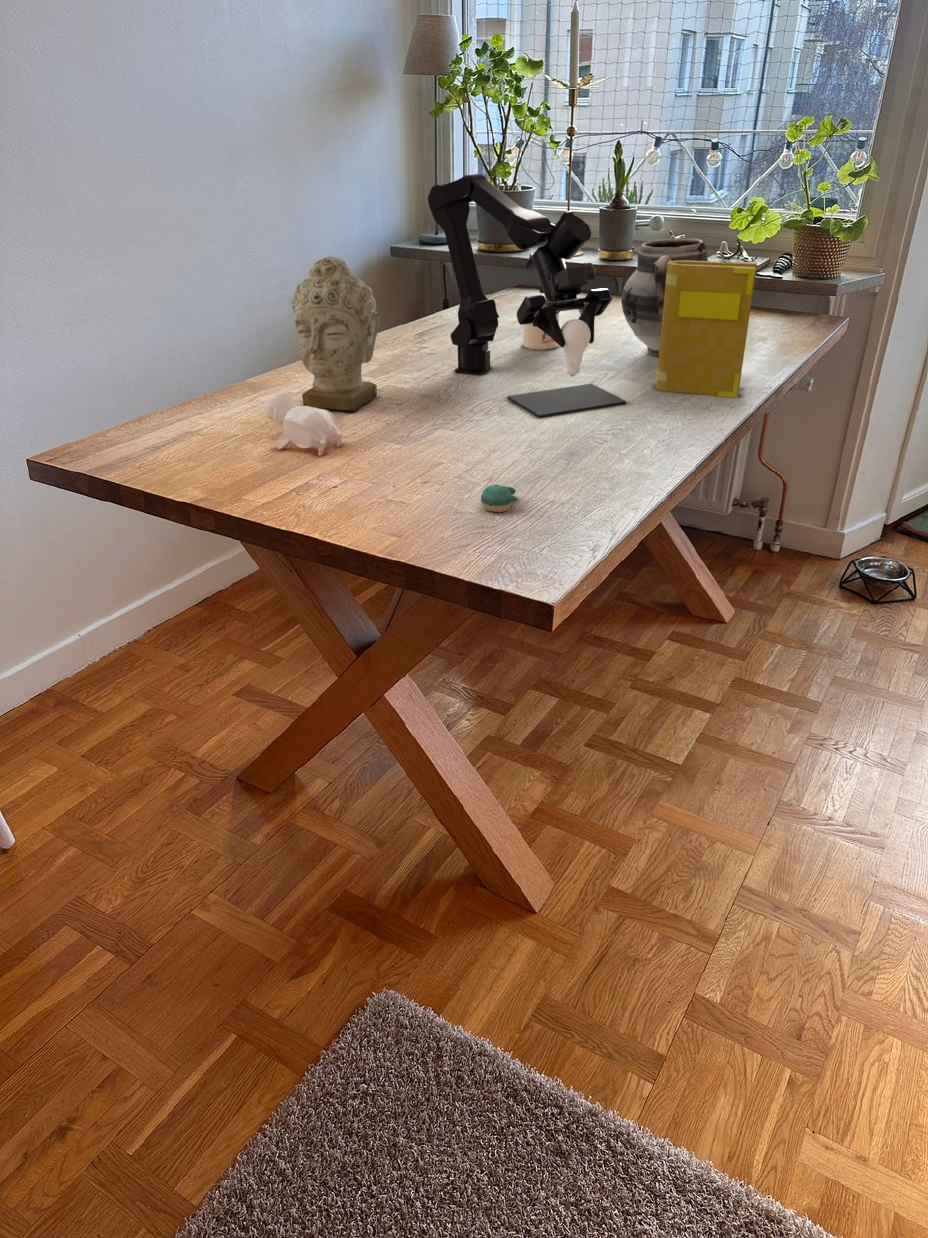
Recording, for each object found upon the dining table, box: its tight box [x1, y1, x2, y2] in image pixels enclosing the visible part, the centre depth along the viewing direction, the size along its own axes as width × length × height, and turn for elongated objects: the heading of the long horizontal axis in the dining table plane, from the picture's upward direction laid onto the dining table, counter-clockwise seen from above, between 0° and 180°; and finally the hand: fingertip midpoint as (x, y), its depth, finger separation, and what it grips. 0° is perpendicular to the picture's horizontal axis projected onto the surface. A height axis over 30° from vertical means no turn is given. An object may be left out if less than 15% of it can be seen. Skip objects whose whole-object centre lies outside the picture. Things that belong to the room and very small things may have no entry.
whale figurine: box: [480, 484, 518, 513], centre depth 138 cm, size 6×7×4 cm
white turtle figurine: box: [263, 392, 344, 457], centre depth 162 cm, size 9×8×15 cm
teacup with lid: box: [522, 296, 560, 351], centre depth 220 cm, size 12×9×12 cm
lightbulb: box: [560, 318, 591, 377], centre depth 175 cm, size 6×6×11 cm
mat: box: [507, 383, 627, 418], centre depth 183 cm, size 14×20×1 cm
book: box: [655, 260, 758, 398], centre depth 182 cm, size 17×7×25 cm, turn 71°
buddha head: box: [291, 256, 380, 413], centre depth 179 cm, size 17×19×28 cm
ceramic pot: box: [620, 237, 709, 357], centre depth 208 cm, size 29×23×25 cm
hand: (577, 344), depth 174 cm, fingers closed on lightbulb, 6 cm apart
